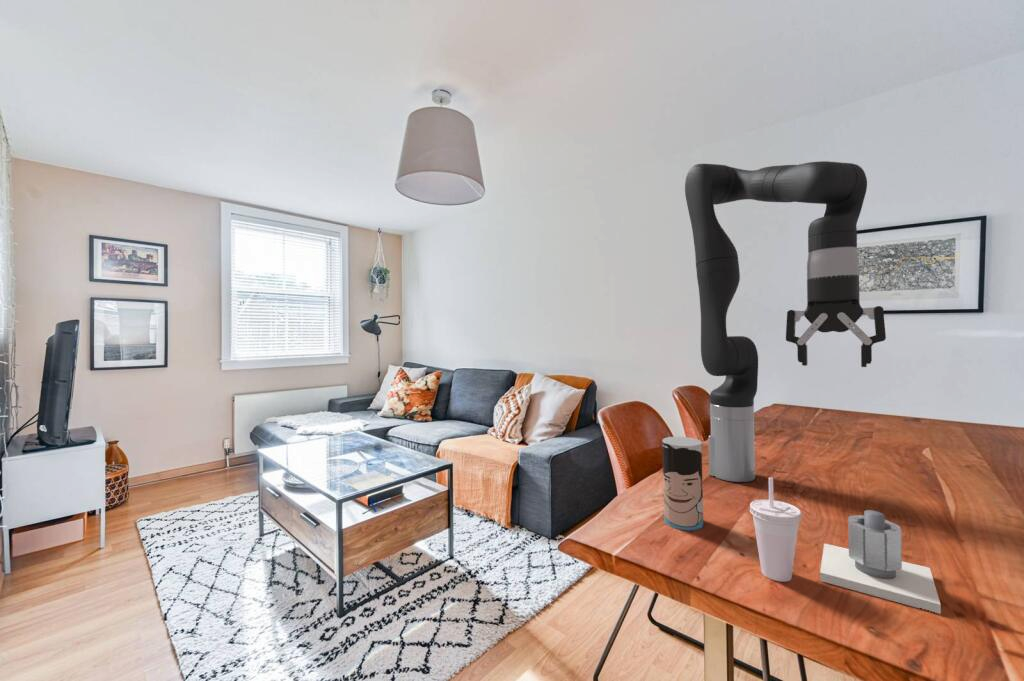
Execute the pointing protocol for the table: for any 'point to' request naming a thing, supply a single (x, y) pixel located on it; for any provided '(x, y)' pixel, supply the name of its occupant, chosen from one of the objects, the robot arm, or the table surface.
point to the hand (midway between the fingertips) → (833, 366)
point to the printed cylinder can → (682, 482)
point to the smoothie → (776, 535)
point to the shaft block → (880, 574)
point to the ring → (875, 544)
